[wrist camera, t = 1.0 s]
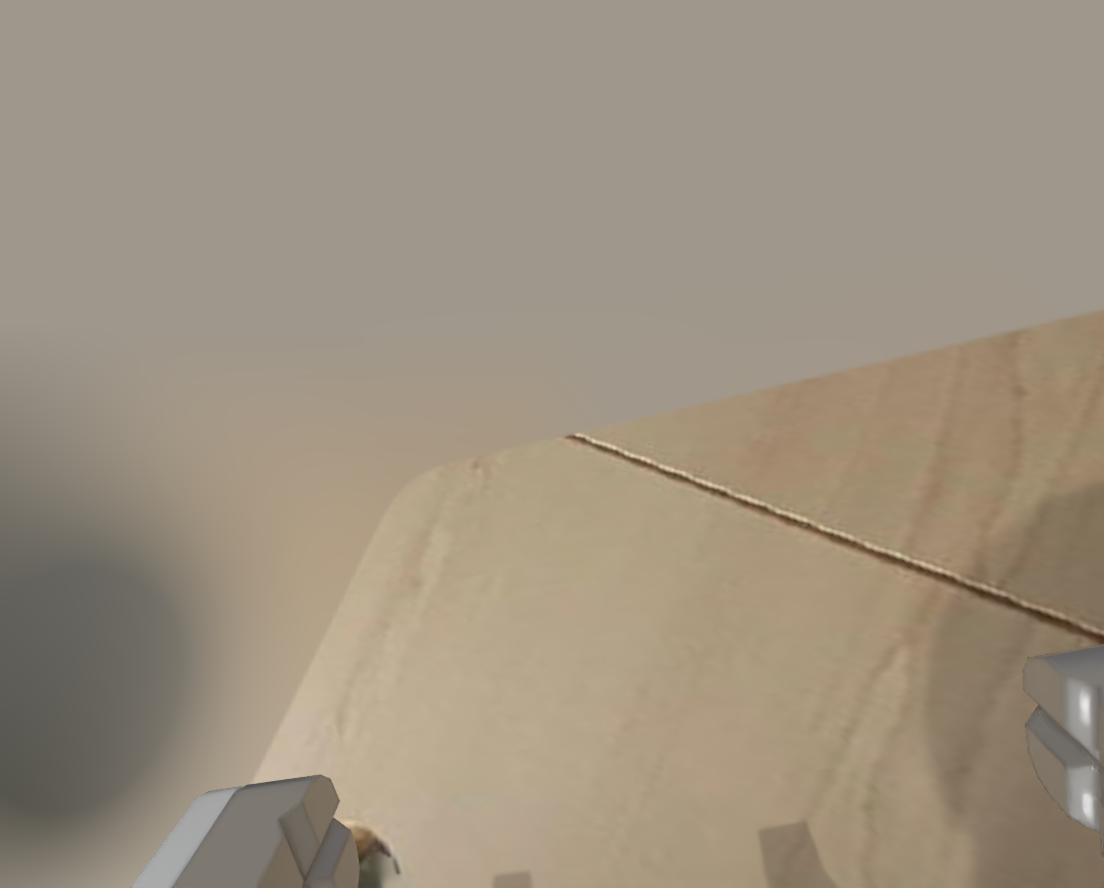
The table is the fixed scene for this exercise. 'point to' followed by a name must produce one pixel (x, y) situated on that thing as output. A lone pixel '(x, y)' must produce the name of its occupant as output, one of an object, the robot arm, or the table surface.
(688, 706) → the table surface
